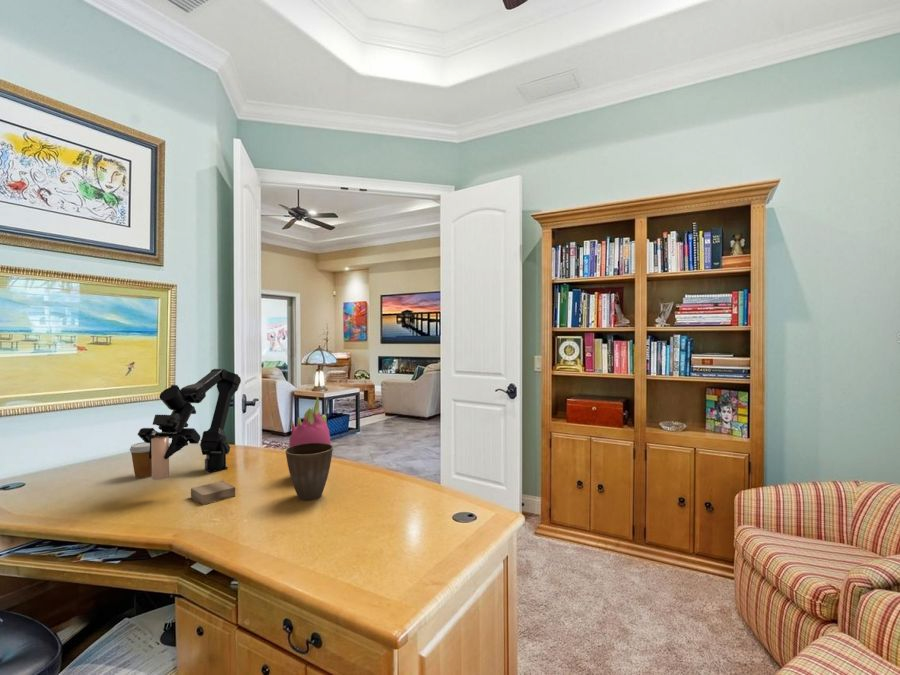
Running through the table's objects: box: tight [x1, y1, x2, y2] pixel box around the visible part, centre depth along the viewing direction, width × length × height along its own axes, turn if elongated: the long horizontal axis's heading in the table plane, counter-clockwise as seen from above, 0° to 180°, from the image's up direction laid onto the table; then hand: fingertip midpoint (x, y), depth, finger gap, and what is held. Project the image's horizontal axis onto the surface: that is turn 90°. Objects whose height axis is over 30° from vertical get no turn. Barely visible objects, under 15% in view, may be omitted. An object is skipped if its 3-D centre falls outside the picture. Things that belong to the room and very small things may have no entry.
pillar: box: [151, 436, 170, 481], centre depth 147 cm, size 5×5×13 cm
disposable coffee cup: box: [129, 441, 152, 479], centre depth 170 cm, size 10×10×12 cm
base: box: [190, 480, 236, 506], centre depth 148 cm, size 10×10×3 cm
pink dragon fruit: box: [288, 396, 332, 448], centre depth 169 cm, size 18×14×30 cm
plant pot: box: [285, 443, 334, 501], centre depth 148 cm, size 15×15×16 cm
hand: (157, 458), depth 145 cm, fingers closed on pillar, 5 cm apart
